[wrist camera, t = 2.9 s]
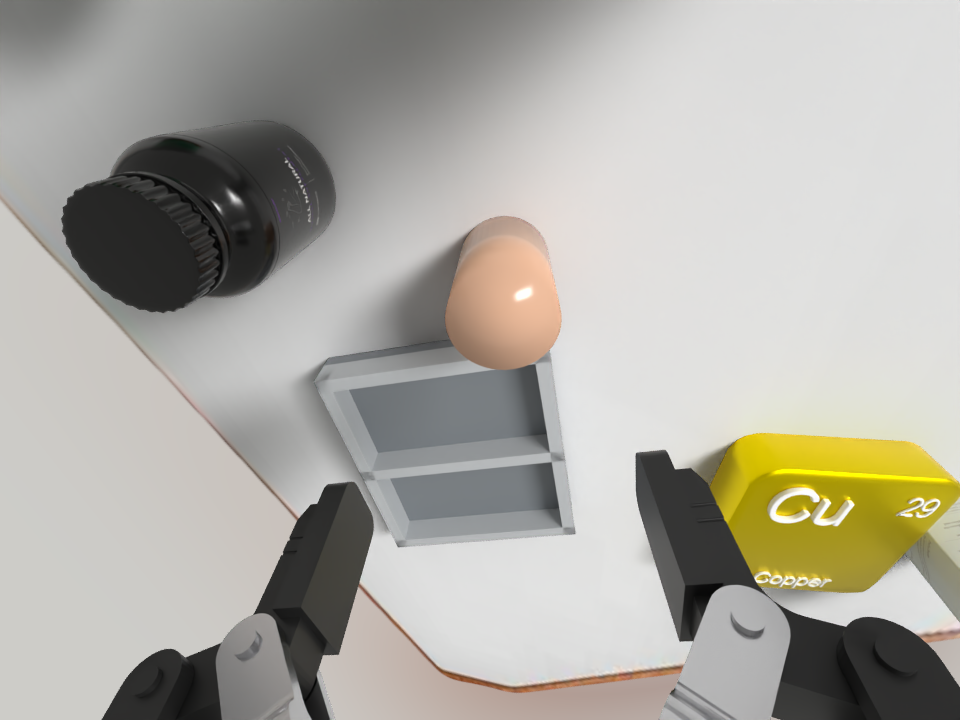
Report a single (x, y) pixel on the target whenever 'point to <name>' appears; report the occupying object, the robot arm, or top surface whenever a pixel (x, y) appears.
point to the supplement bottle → (200, 214)
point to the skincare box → (941, 558)
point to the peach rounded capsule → (503, 296)
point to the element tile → (828, 507)
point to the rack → (452, 443)
